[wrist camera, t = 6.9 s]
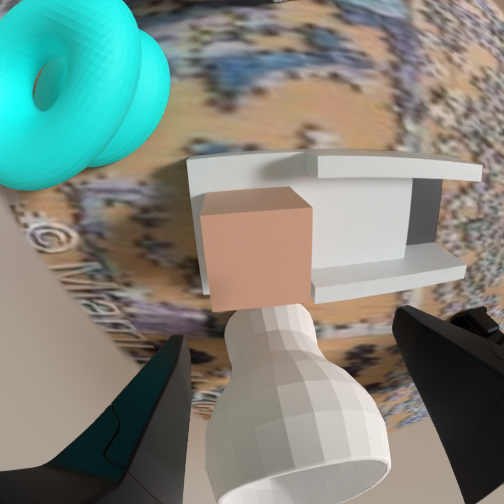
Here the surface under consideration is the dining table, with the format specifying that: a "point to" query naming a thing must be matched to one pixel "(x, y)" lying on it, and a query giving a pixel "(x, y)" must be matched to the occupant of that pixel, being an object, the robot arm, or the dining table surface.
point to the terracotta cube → (257, 247)
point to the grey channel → (350, 212)
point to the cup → (290, 418)
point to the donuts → (75, 89)
